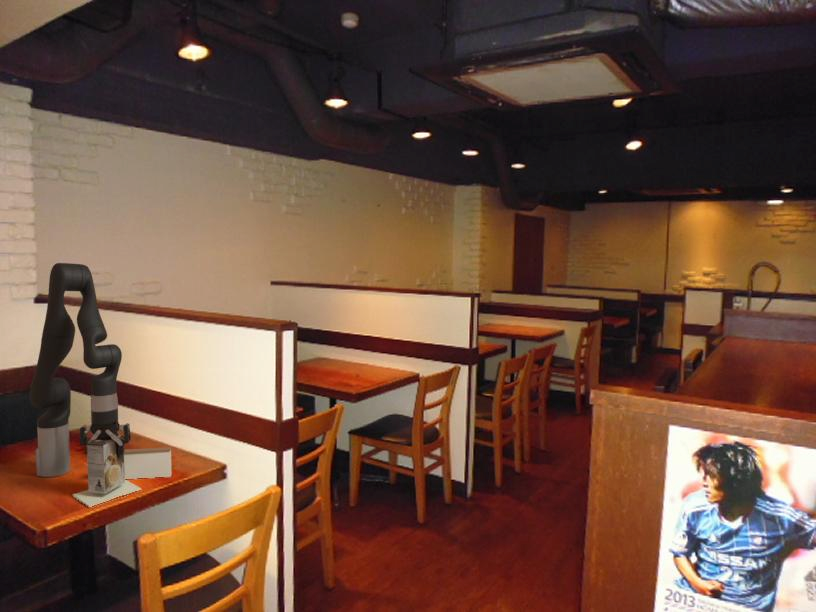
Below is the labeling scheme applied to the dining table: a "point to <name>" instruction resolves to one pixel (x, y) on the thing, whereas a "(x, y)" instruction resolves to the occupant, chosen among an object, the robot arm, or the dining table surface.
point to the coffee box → (104, 466)
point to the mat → (97, 498)
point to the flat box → (147, 463)
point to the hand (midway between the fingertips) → (106, 456)
